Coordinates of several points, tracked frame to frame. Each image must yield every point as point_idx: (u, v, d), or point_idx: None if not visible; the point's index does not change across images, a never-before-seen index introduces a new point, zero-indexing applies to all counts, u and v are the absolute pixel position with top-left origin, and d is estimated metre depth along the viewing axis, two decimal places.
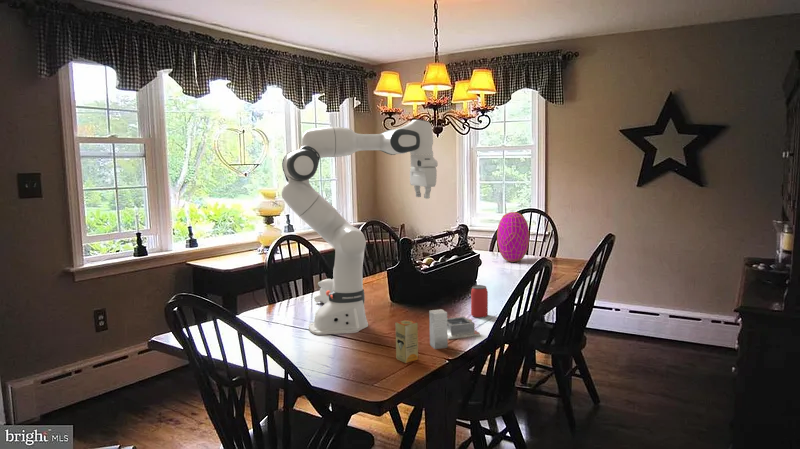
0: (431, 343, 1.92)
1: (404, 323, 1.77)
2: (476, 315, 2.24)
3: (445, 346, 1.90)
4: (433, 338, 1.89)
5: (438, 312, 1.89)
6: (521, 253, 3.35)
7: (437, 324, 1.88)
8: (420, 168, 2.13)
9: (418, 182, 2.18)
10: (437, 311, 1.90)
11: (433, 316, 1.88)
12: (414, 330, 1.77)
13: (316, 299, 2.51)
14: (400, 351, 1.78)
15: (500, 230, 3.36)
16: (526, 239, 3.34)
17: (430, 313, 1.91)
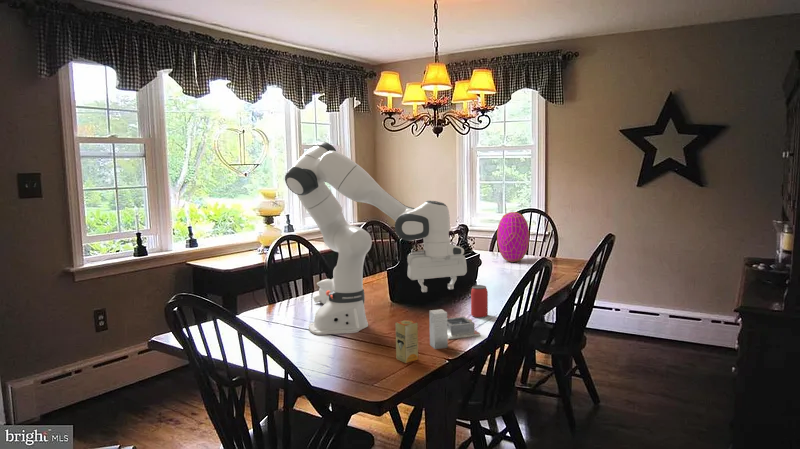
0: (431, 343, 1.92)
1: (404, 323, 1.77)
2: (476, 315, 2.24)
3: (445, 346, 1.90)
4: (433, 338, 1.89)
5: (438, 312, 1.89)
6: (521, 253, 3.35)
7: (437, 324, 1.88)
8: (455, 256, 1.87)
9: (441, 273, 1.87)
10: (437, 311, 1.90)
11: (433, 316, 1.88)
12: (414, 330, 1.77)
13: (315, 299, 2.51)
14: (400, 351, 1.78)
15: (500, 230, 3.36)
16: (526, 239, 3.34)
17: (430, 313, 1.91)
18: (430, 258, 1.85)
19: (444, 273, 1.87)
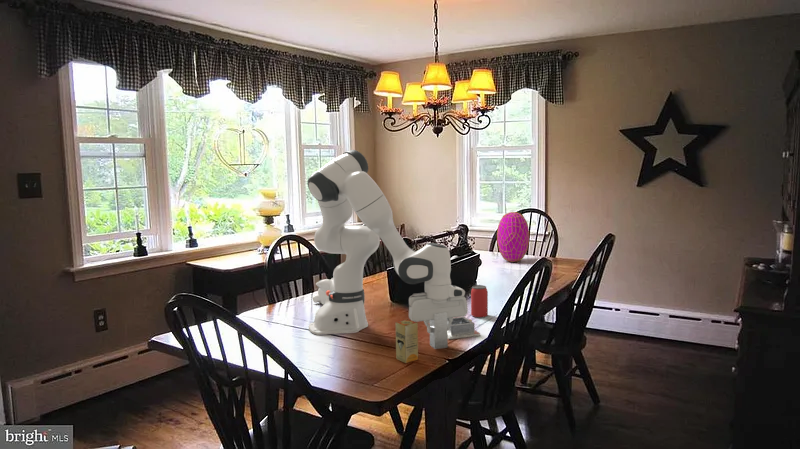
0: (431, 343, 1.92)
1: (404, 323, 1.77)
2: (476, 315, 2.24)
3: (445, 345, 1.90)
4: (433, 338, 1.89)
5: None
6: (521, 253, 3.35)
7: (437, 324, 1.88)
8: (456, 298, 1.89)
9: None
10: None
11: None
12: (414, 330, 1.77)
13: (314, 299, 2.50)
14: (400, 351, 1.78)
15: (500, 230, 3.36)
16: (526, 239, 3.34)
17: None
18: (431, 300, 1.87)
19: None
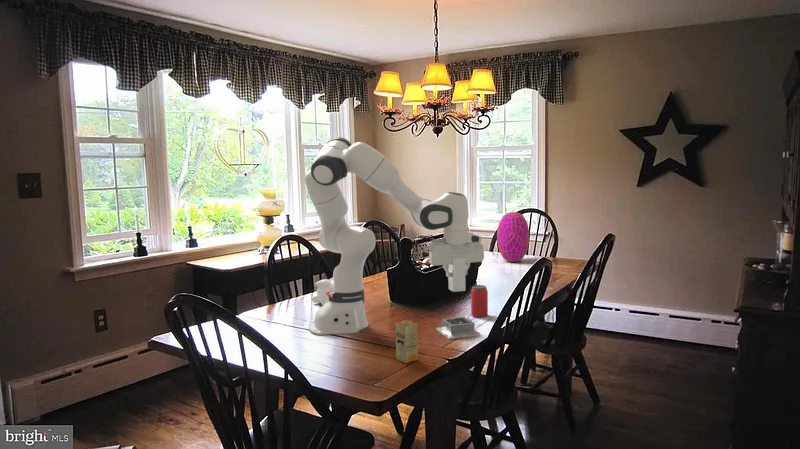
0: (449, 287, 2.03)
1: (404, 323, 1.77)
2: (476, 315, 2.24)
3: (463, 289, 2.01)
4: (452, 282, 2.01)
5: None
6: (521, 253, 3.35)
7: (456, 268, 1.99)
8: (474, 244, 2.00)
9: None
10: None
11: (452, 261, 1.99)
12: (414, 330, 1.77)
13: (313, 299, 2.50)
14: (400, 351, 1.78)
15: (500, 230, 3.36)
16: (526, 239, 3.34)
17: None
18: (450, 245, 1.98)
19: None
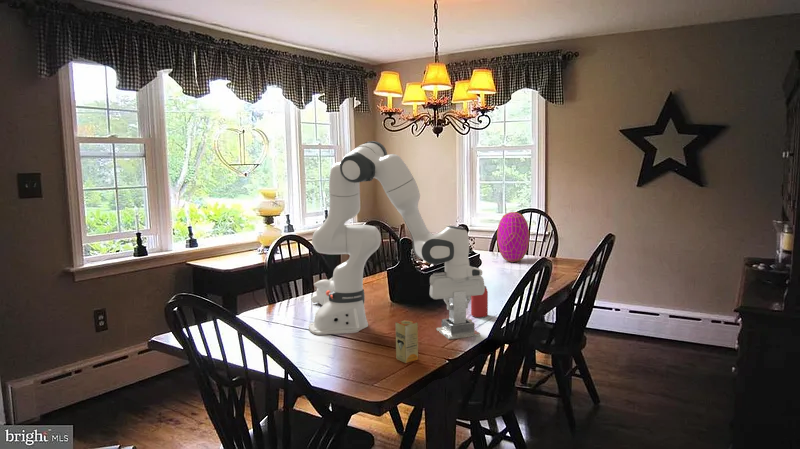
0: (450, 320, 2.04)
1: (404, 323, 1.77)
2: (476, 315, 2.24)
3: (464, 322, 2.02)
4: (452, 315, 2.02)
5: None
6: (521, 253, 3.35)
7: (456, 301, 2.01)
8: (474, 277, 2.01)
9: None
10: None
11: None
12: (414, 330, 1.77)
13: (313, 300, 2.50)
14: (400, 351, 1.78)
15: (500, 230, 3.36)
16: (526, 239, 3.34)
17: None
18: (451, 279, 2.00)
19: None
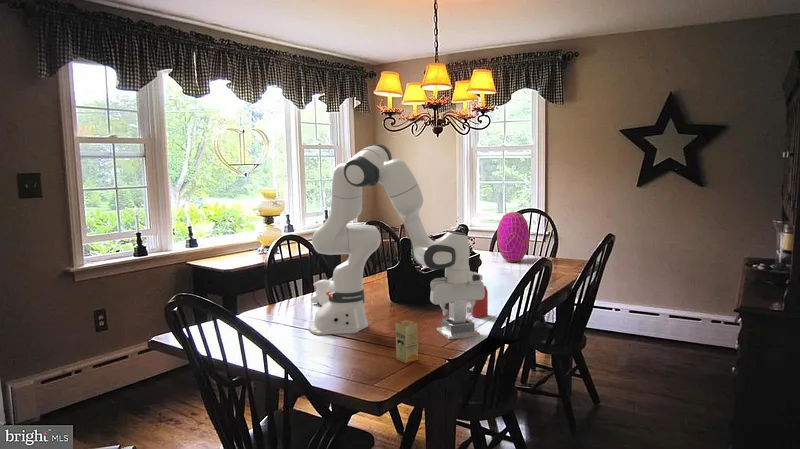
0: None
1: (404, 323, 1.77)
2: (476, 315, 2.24)
3: None
4: (453, 323, 2.03)
5: None
6: (521, 253, 3.35)
7: (457, 310, 2.02)
8: (474, 282, 2.02)
9: (461, 297, 2.02)
10: None
11: (453, 302, 2.02)
12: (414, 330, 1.77)
13: (312, 300, 2.50)
14: (400, 351, 1.78)
15: (500, 230, 3.36)
16: (526, 239, 3.34)
17: None
18: (451, 284, 2.01)
19: (464, 298, 2.03)
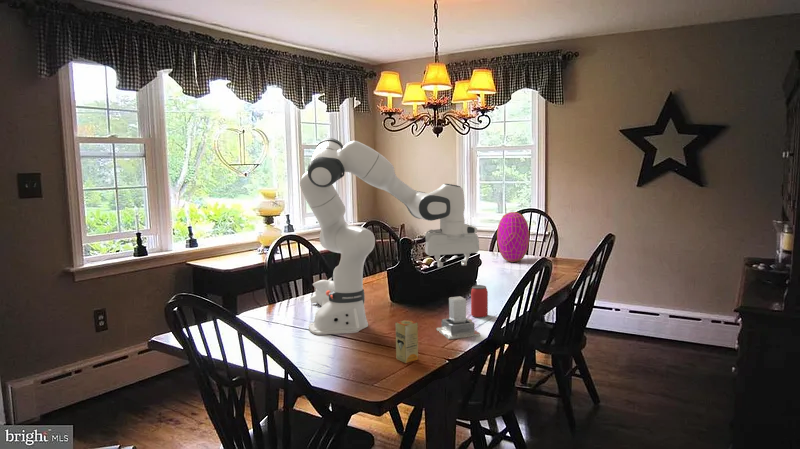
0: None
1: (404, 323, 1.77)
2: (476, 315, 2.24)
3: None
4: (453, 323, 2.03)
5: (457, 299, 2.03)
6: (521, 253, 3.35)
7: (457, 310, 2.02)
8: (469, 235, 2.04)
9: (456, 249, 2.04)
10: (456, 298, 2.04)
11: (453, 302, 2.02)
12: (414, 330, 1.77)
13: (312, 300, 2.50)
14: (400, 351, 1.78)
15: (500, 230, 3.36)
16: (526, 239, 3.34)
17: (450, 300, 2.05)
18: (446, 236, 2.02)
19: (458, 250, 2.05)
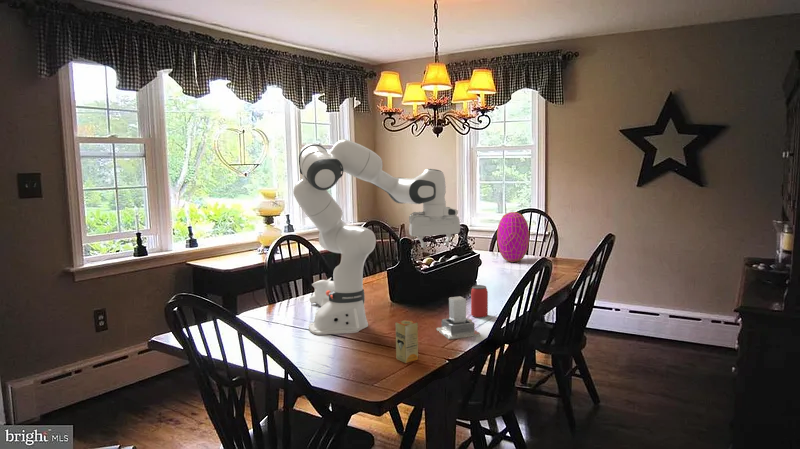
0: None
1: (404, 323, 1.77)
2: (476, 315, 2.24)
3: None
4: (453, 323, 2.03)
5: (457, 299, 2.03)
6: (521, 253, 3.35)
7: (457, 310, 2.02)
8: (450, 216, 2.18)
9: (438, 231, 2.18)
10: (456, 298, 2.04)
11: (453, 302, 2.02)
12: (414, 330, 1.77)
13: (311, 300, 2.49)
14: (400, 351, 1.78)
15: (500, 230, 3.36)
16: (526, 239, 3.34)
17: (450, 300, 2.05)
18: (429, 218, 2.16)
19: (440, 231, 2.18)
